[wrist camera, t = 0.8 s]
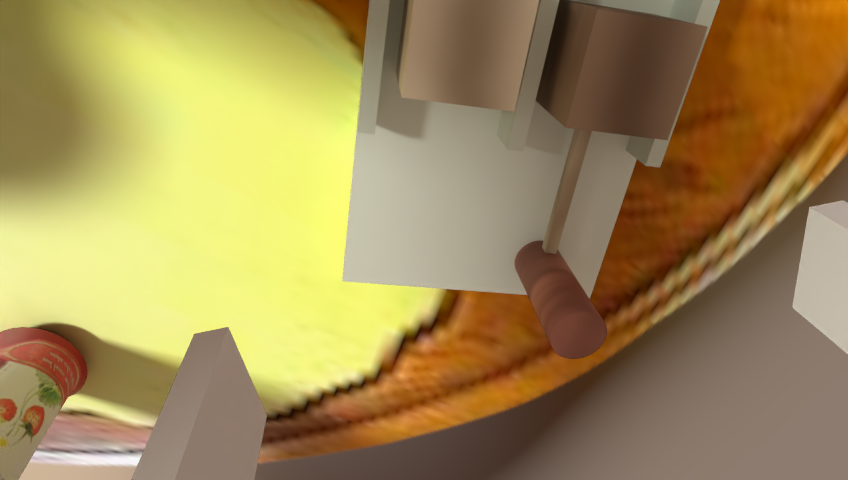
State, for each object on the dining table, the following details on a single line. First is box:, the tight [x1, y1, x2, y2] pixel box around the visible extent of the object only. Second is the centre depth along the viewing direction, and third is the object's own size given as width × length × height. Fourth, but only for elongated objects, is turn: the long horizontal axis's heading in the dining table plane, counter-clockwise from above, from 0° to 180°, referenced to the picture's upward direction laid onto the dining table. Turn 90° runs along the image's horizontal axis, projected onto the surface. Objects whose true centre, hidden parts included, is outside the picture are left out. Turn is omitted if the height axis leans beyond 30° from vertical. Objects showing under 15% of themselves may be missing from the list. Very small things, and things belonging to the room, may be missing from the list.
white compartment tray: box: [343, 0, 720, 299], centre depth 35 cm, size 19×24×4 cm
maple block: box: [396, 0, 539, 112], centre depth 30 cm, size 6×6×6 cm
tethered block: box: [515, 0, 708, 359], centre depth 33 cm, size 6×19×9 cm, turn 172°
